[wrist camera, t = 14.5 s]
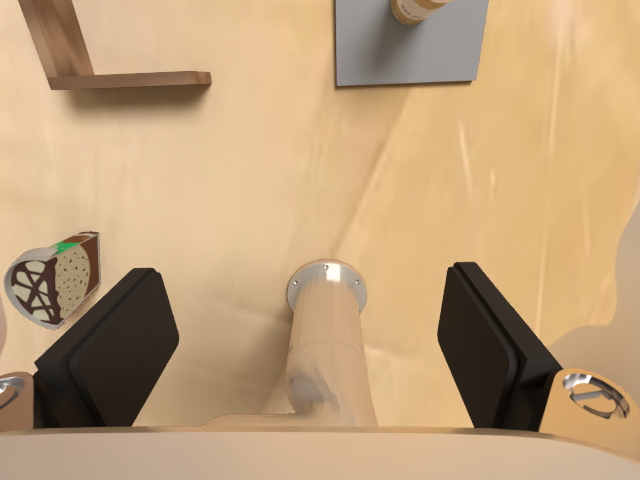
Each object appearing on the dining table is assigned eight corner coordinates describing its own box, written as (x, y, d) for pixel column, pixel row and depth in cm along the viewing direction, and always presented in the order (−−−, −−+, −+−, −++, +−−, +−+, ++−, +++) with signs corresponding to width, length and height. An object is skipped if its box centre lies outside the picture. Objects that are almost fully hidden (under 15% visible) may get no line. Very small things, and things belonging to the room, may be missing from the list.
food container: (55, 213, 47) (-10, 244, 38) (99, 223, 48) (45, 257, 39) (62, 281, 52) (6, 323, 43) (101, 290, 53) (54, 333, 44)
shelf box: (211, 83, 39) (193, 84, 33) (89, 88, 39) (51, 90, 34) (185, -76, 32) (156, -107, 27) (39, -67, 33) (-17, -95, 28)
